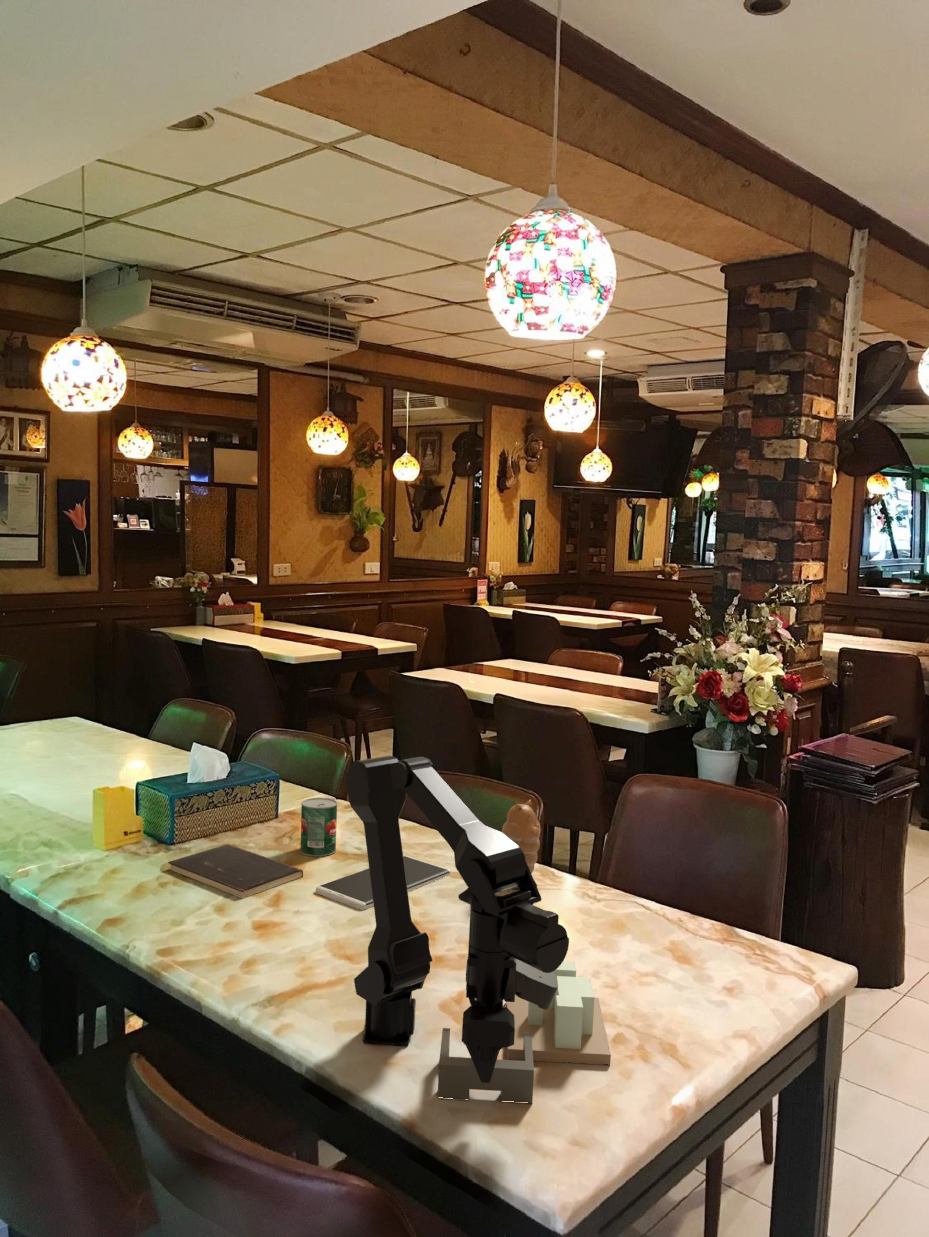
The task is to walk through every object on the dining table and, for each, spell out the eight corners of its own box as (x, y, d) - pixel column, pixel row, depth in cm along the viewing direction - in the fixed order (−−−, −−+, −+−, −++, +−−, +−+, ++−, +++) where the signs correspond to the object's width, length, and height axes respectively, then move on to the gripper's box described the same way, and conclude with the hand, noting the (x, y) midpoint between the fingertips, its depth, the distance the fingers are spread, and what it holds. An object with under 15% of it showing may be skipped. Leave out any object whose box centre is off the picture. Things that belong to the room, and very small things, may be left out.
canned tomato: (295, 847, 213) (297, 799, 212) (330, 843, 217) (331, 796, 216) (305, 858, 206) (306, 808, 205) (340, 854, 209) (342, 805, 208)
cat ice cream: (522, 899, 188) (526, 809, 187) (490, 888, 193) (494, 801, 191) (546, 886, 195) (550, 800, 194) (514, 877, 200) (518, 793, 198)
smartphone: (452, 877, 201) (452, 869, 200) (362, 913, 179) (362, 904, 179) (405, 862, 209) (405, 854, 209) (313, 894, 187) (314, 886, 187)
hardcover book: (241, 901, 183) (241, 890, 182) (168, 872, 196) (168, 861, 196) (303, 879, 195) (303, 868, 195) (230, 853, 209) (230, 843, 209)
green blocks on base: (507, 1059, 131) (510, 1006, 130) (506, 1002, 146) (508, 955, 146) (610, 1065, 130) (613, 1012, 129) (597, 1007, 146) (600, 960, 145)
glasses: (532, 1104, 120) (534, 1070, 120) (437, 1098, 121) (438, 1064, 120) (529, 1064, 129) (531, 1032, 129) (441, 1059, 130) (442, 1027, 129)
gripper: (560, 981, 110) (553, 1109, 112) (551, 916, 129) (545, 1027, 130) (464, 975, 111) (458, 1103, 112) (469, 912, 129) (464, 1022, 131)
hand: (485, 1061), depth 121 cm, fingers open, 9 cm apart
